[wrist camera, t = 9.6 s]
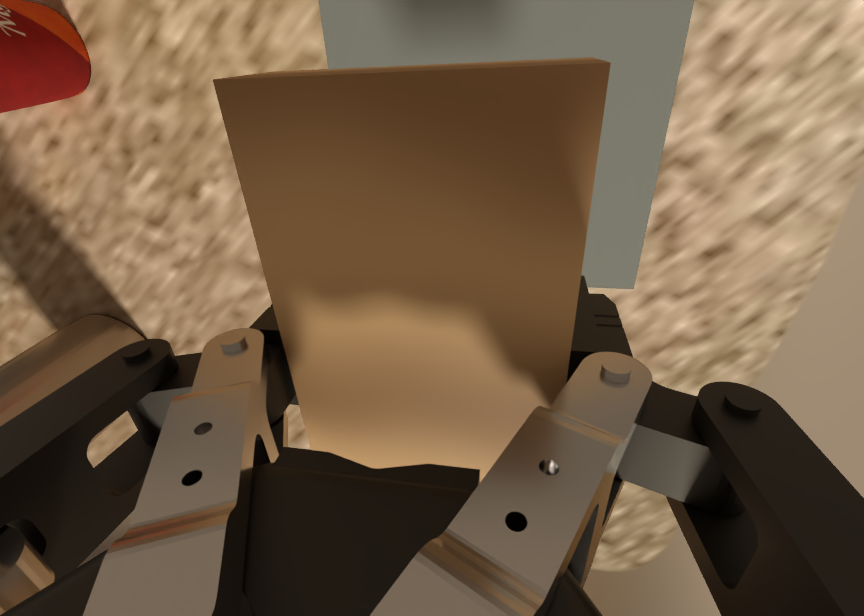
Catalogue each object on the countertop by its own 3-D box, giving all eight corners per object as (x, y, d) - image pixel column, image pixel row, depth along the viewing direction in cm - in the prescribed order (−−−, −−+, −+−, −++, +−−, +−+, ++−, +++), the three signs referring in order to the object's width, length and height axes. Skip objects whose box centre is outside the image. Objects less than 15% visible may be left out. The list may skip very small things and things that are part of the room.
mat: (361, 273, 35) (358, 277, 35) (321, -5, 26) (317, -6, 25) (631, 285, 31) (633, 289, 31) (697, -34, 22) (701, -36, 22)
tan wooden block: (374, 58, 15) (212, 79, 7) (563, 48, 14) (611, 62, 6) (403, 352, 21) (333, 533, 13) (535, 362, 20) (540, 564, 12)
